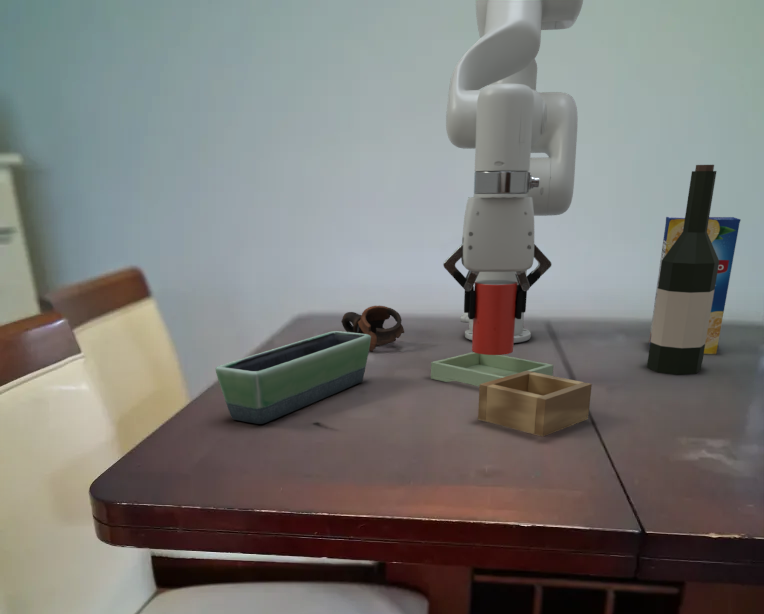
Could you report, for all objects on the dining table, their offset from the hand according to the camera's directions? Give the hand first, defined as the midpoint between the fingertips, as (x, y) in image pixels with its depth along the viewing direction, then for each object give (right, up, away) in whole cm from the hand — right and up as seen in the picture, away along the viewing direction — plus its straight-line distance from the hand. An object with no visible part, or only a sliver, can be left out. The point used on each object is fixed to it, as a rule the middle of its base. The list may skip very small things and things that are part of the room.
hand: (494, 316), depth 111 cm
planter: (-28, -13, -5) cm, 31 cm away
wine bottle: (+31, -6, +10) cm, 33 cm away
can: (0, -5, +2) cm, 5 cm away
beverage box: (+37, 0, +23) cm, 44 cm away
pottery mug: (-19, +2, +28) cm, 33 cm away
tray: (0, -9, +4) cm, 10 cm away
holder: (+2, -18, -16) cm, 24 cm away
